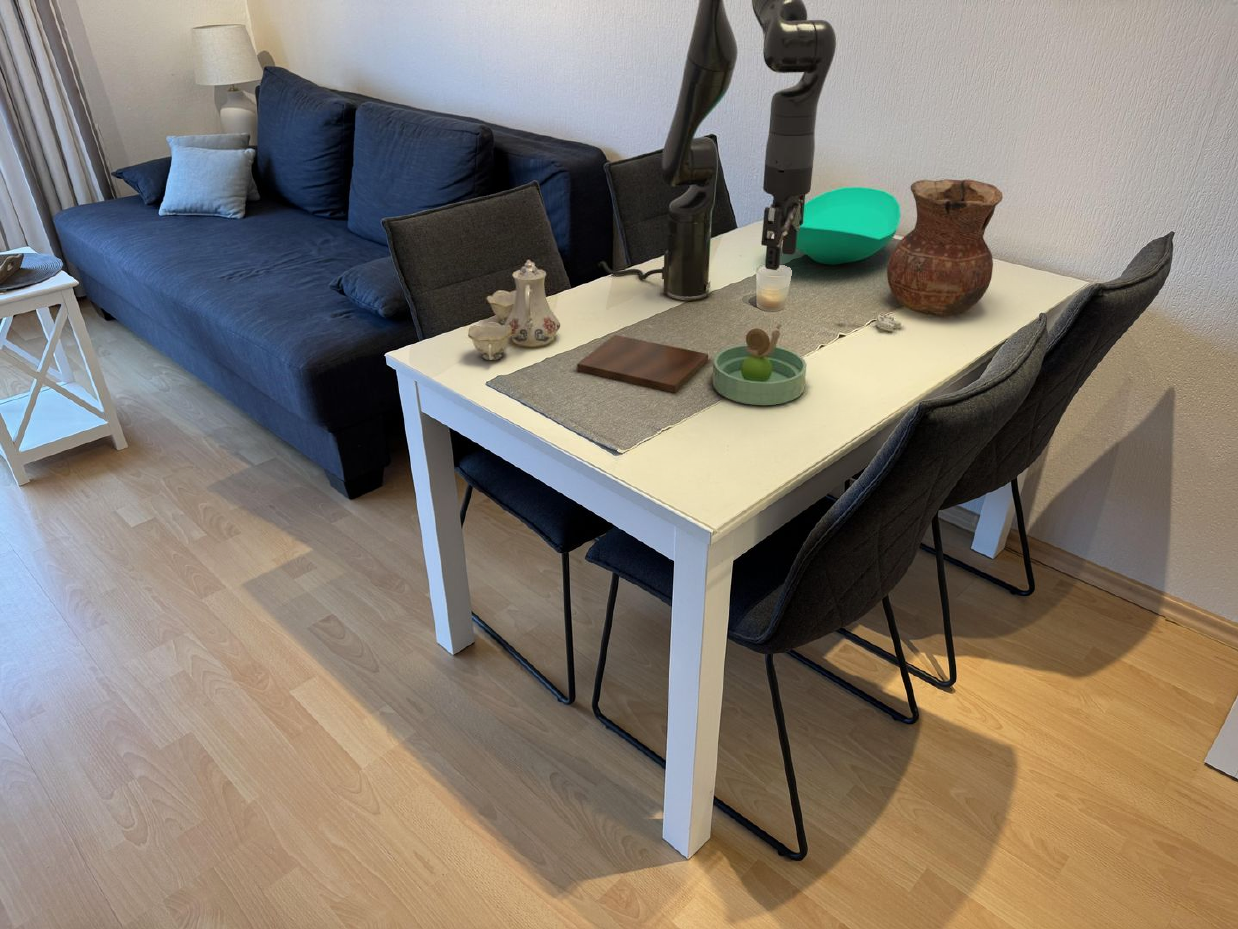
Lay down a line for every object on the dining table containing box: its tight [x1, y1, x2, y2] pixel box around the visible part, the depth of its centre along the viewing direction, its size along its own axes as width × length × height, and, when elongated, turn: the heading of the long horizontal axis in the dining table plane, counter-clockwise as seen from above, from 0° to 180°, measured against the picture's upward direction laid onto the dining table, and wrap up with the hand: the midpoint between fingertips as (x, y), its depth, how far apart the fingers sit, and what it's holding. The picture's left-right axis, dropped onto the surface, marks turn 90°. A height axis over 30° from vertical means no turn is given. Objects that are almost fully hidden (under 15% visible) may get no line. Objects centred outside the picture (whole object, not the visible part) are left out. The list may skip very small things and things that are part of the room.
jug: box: [886, 178, 1004, 317], centre depth 183 cm, size 22×21×25 cm
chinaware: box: [467, 259, 561, 361], centre depth 172 cm, size 28×17×17 cm, turn 1°
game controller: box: [843, 313, 902, 332], centre depth 178 cm, size 6×12×3 cm, turn 100°
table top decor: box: [773, 186, 902, 266], centre depth 212 cm, size 40×28×13 cm
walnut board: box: [576, 334, 709, 394], centre depth 164 cm, size 20×15×2 cm
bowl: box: [711, 343, 808, 406], centre depth 156 cm, size 16×16×4 cm
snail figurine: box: [741, 323, 782, 382], centre depth 154 cm, size 5×6×12 cm
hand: (780, 261), depth 147 cm, fingers open, 8 cm apart
